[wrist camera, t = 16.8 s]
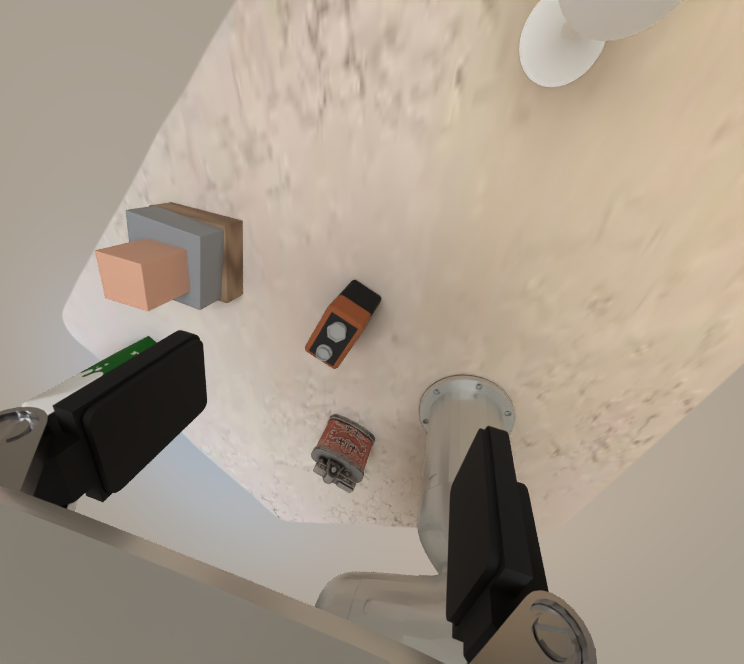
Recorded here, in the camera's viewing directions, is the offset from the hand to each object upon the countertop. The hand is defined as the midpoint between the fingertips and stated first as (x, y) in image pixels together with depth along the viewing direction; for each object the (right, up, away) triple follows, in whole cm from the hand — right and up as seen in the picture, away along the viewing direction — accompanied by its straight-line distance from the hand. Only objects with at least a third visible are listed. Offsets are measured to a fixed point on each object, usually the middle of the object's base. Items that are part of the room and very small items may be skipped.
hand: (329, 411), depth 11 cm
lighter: (-2, -13, +42) cm, 44 cm away
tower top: (-21, +12, +30) cm, 39 cm away
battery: (-1, +6, +33) cm, 33 cm away
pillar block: (-22, +10, +27) cm, 36 cm away
